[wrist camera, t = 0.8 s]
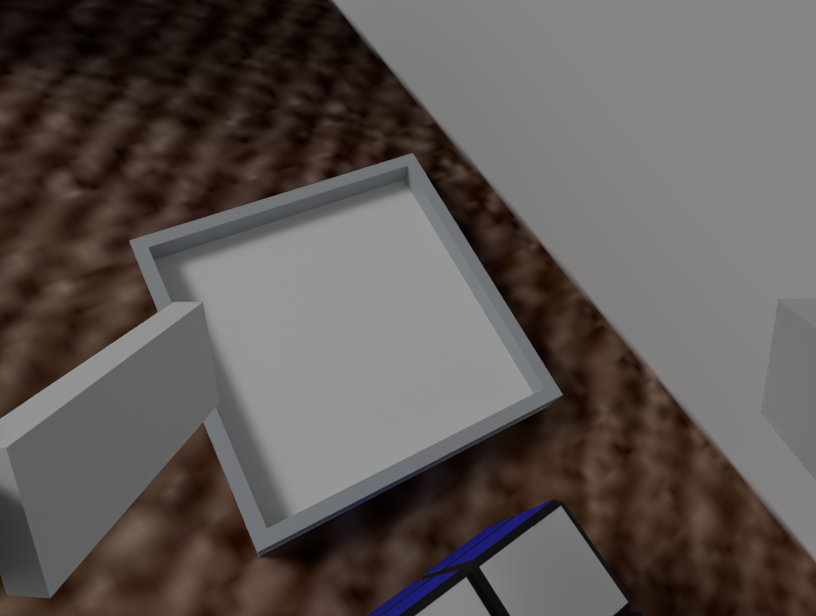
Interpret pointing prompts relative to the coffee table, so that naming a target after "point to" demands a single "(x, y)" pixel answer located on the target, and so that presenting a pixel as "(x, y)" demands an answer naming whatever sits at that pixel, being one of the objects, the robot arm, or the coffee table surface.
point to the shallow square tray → (344, 342)
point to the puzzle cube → (519, 574)
